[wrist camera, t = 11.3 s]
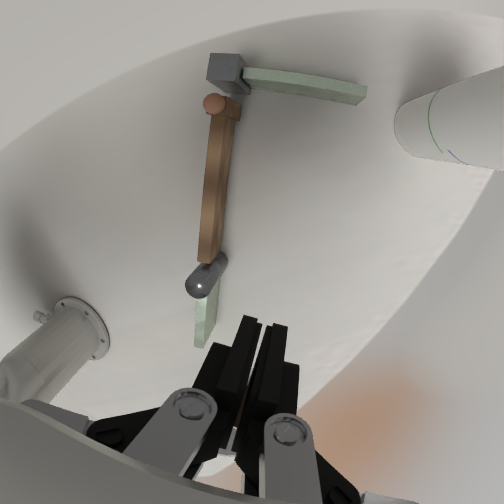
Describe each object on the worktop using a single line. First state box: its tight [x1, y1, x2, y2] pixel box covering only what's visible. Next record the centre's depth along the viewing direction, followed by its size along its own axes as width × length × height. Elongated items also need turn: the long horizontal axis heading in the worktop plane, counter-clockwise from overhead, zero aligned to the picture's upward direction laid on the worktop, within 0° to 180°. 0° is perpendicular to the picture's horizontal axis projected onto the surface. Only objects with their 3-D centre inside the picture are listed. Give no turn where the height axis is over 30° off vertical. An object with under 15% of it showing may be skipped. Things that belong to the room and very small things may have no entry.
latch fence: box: [206, 53, 367, 106], centre depth 28 cm, size 15×3×8 cm, turn 82°
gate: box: [197, 93, 241, 264], centre depth 32 cm, size 17×2×9 cm, turn 172°
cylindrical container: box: [394, 66, 504, 171], centre depth 19 cm, size 7×7×25 cm
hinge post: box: [185, 251, 228, 349], centre depth 38 cm, size 3×11×8 cm, turn 172°
